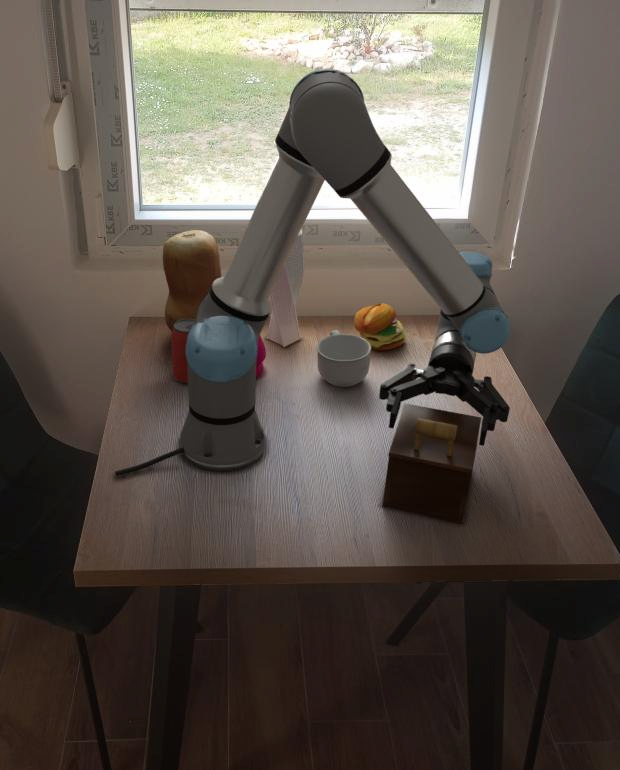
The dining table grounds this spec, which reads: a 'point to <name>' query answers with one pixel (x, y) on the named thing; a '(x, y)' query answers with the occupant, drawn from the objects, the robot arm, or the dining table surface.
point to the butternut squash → (189, 273)
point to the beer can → (180, 348)
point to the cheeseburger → (380, 327)
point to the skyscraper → (287, 297)
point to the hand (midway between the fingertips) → (436, 429)
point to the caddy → (426, 489)
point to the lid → (436, 438)
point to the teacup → (343, 359)
